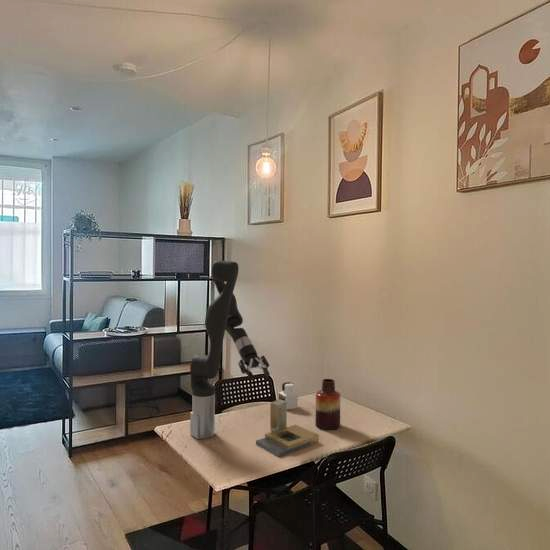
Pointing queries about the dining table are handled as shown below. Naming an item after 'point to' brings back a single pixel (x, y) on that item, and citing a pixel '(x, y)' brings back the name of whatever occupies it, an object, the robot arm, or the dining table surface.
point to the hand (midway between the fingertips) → (260, 378)
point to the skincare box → (278, 415)
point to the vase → (328, 406)
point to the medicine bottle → (289, 395)
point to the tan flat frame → (281, 447)
